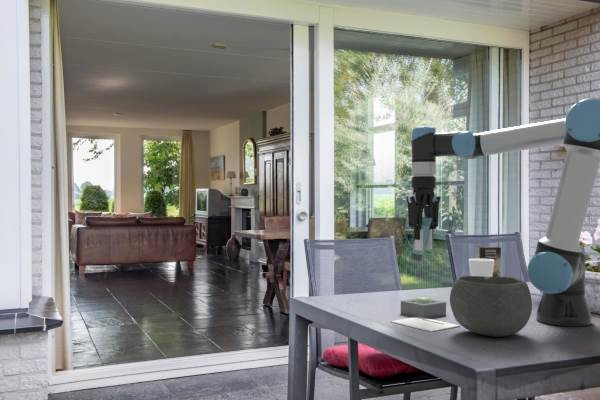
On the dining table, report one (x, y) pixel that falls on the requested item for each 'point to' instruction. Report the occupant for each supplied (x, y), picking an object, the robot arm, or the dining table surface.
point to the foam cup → (481, 267)
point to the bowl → (491, 304)
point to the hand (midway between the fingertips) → (423, 249)
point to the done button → (423, 300)
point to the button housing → (423, 308)
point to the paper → (425, 324)
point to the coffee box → (490, 257)
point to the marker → (425, 227)
